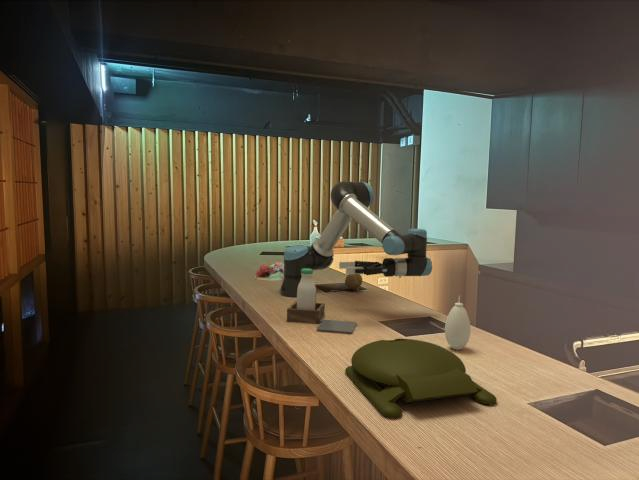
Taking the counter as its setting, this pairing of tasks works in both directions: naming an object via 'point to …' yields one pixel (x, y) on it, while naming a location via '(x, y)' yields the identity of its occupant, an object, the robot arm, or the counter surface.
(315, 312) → the walnut caddy
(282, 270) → the candy landscape model
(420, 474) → the counter surface
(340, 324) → the slate tile
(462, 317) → the grey air blower bulb
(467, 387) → the spaceship
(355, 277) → the natural sponge
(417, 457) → the counter surface
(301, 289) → the milk bottle
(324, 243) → the robot arm
